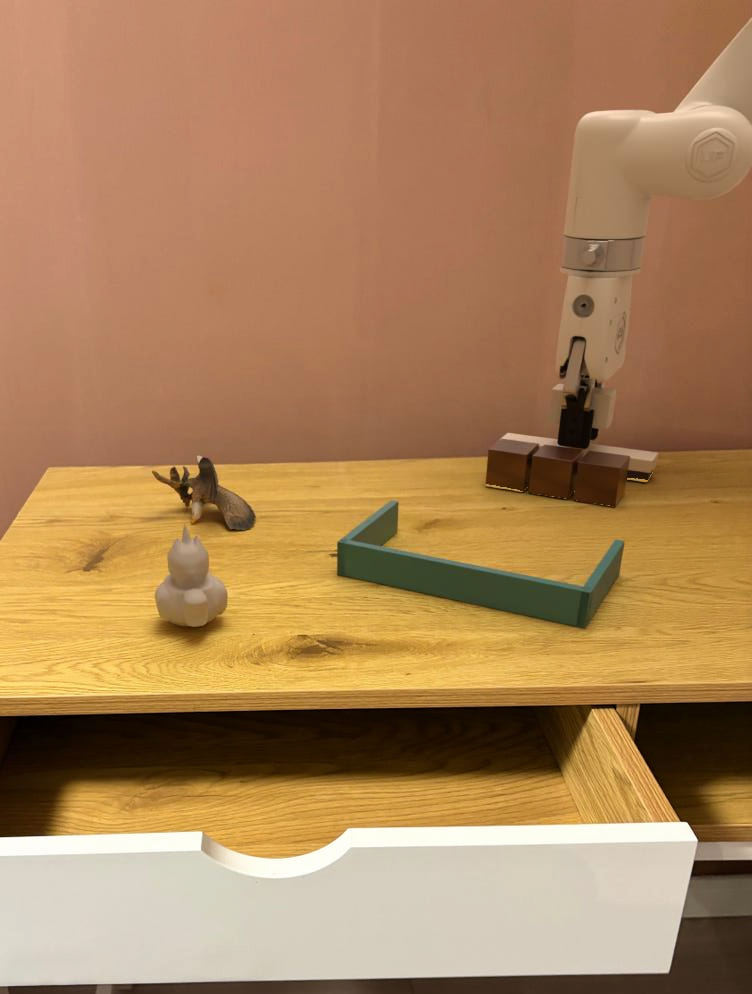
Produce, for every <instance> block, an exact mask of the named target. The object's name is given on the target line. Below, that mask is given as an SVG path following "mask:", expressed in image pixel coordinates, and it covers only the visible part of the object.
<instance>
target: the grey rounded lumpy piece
mask: <svg viewBox="0 0 752 994" xmlns="http://www.w3.org/2000/svg"><path fill="white" fill-rule="evenodd" d="M181 535H182V536H181V539H179V538H178V537H175V539H174V541H173V543H172V546H171V548H170V549H169V550H168V553H167V569H168V572H169V574H167V575H166V576H165V577H164V581H162V582H161V583H159V585H158V586H157V588H156V590H155V592H154V601H155V606H156V609H157V613H158V615H159V616H160V618H161V619H162V620H163V621H165V622H170V623H172V624H173V625H176V626H180V627H192V628H196V627H202V626H205V625H206V624H207V623H210V622H211V621H213V620H214V619H215V618H216V617H217V616H221V615H223V614H224V613H225V612H226V610H227V607H228V595H229V593H228V590H227V588H226V585H225V584H224V582H223V580H221V579H220V578H218V577H217V576H213V575H212V573H211V572H210V571H209V570H210V557H209V551H208V550H207V549H206V547H205V546H204V544H203V543H202V541H201V539H200V538H199V536H198V535H197V534H196V535H195V536H194V537H193V538H191V536H190V533H189V529H188V527H187V525H186V524H185V523H184V524H183V529H182V534H181Z"/></svg>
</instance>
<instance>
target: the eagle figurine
mask: <svg viewBox="0 0 752 994" xmlns="http://www.w3.org/2000/svg"><path fill="white" fill-rule="evenodd" d="M196 462H197V467H198V469H199V471H198V475H196V476H194V477H190V475H191V473H190V472H189V470H188V468H187V467H186V466H185V465H183V466H182V469H183V473H182V474H183V475H182V477H180V474H179V472H178V470H177V468H176V466H173V467H171V468H170V470H169V478H167V477H165V476H163V475H161V474H159V472H157V471H155V470H152V471H151V474H152V475H153V476H154V478H155V479H156V480H157V482H160V483H161V484H164V485H167V486H169V487H170V488H171V489H173V490H174V492H176V493H177V494H178V496H179V499H180V500H181V501H182V504H184V506H185V507H186V508H189V507H190V503H191V521H190V524H191V525H194V524H195V523H196V521H197V520H199V519H200V518H201V517H202V513H203V509H204V507H205V505H206V504H212V505H214V506H216V507H217V509H218V510H219V511H220V512H221V514H222V515H223V519H224V521H225V524H226V525H227V526H228V528H229V530H230V529H231V530H232V529H234V530H236V531H240V530H241V531H247V530H252V526H254V525H255V522H256V519H257V516H256V514H255V511H254V509H253V508H252V506H251V505H250V504H248V502H247V501H246V500H245V499H243V497H241V496H240V495H239V494H236V493H235V492H233V491H231V490H229V489H228V488H226V487H224V486H221V485H220V484H219V478H218V473H217V470H216V468H215V466H214V463H213V462H212V460H211V458H209V457H205V456H202V455H199V454H198V455H196ZM190 488H191V489H192V491H191V492H190V493H189V489H190Z"/></svg>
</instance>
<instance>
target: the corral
mask: <svg viewBox="0 0 752 994" xmlns="http://www.w3.org/2000/svg"><path fill="white" fill-rule="evenodd" d="M399 503H400V502H399V501H398V500H397V501H396V500H389V501H388V502H387V503H386V504H384V505H382V507H380V508H379V509H377V510H376V511H375V512H374V513H373V514H371V515H369V516H368V518H366V519H365V520H363V521H362V522H361V523H359V524H358V525H357V526H355V527H354V528H353V529H352V530H350V531H349V532H348V533H347V534H345V535H344V536H343V537H341V538H340V539H339V540H338V541H337V547H336V557H337V558H336V575H337V576H344V577H348V578H353V579H356V580H360V581H361V580H362V581H366V582H371V583H375V584H379V585H385V586H388V587H394V588H398V589H402V590H408V591H411V592H417V593H421V594H426V595H430V596H436V597H439V598H444V599H449V600H454V601H457V602H463V603H468V604H472V605H477V606H480V607H481V606H482V607H486V608H490V609H491V608H492V609H494V610H499V611H504V612H509V613H513V614H518V615H522V616H526V617H532V618H537V619H540V620H546V621H550V622H554V623H560V624H563V625H569V626H573V627H577V628H583V629H587V626H588V625H589V623H590V622H591V620H592V619H593V617H594V615H595V613H596V612H597V610H598V609H599V607H601V604H602V602H603V601H604V600H605V598H606V596H607V594H608V593H609V591H610V590H611V588H612V587H613V585H614V583H615V581H616V580H617V579H618V576H620V573H621V567H622V561H623V555H624V548H625V543H626V542H625V540H621V539H614V540H613V542H612V543H611V544H610V546H609V548H608V549H607V551H606V552H605V554H604V555H603V557H602V558H601V559H600V561H599V563H597V565H596V567H595V568H594V570H593V571H592V573H591V574H590V576H589V577H588V578H587V580H586V582H585V583H584V584H583V585H579V584H573V583H567V582H562V581H558V580H553V579H548V578H542V577H537V576H533V575H527V574H522V573H517V572H512V571H508V570H502V569H497V568H493V567H487V566H482V565H478V564H473V563H466V562H461V561H458V560H451V559H447V558H442V557H437V556H432V555H427V554H422V553H417V552H412V551H406V550H402V549H396V548H391V547H387V546H383V545H384V544H385V543H386V542H388V541H389V540H390V539H391V538H392V537H393V536H394V535H396V534H397V533H398V526H399V505H400V504H399Z"/></svg>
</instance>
